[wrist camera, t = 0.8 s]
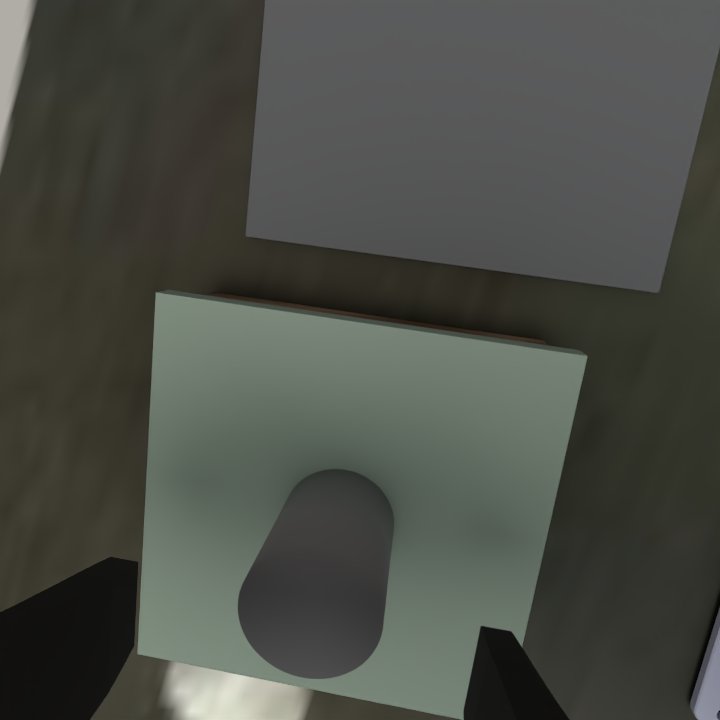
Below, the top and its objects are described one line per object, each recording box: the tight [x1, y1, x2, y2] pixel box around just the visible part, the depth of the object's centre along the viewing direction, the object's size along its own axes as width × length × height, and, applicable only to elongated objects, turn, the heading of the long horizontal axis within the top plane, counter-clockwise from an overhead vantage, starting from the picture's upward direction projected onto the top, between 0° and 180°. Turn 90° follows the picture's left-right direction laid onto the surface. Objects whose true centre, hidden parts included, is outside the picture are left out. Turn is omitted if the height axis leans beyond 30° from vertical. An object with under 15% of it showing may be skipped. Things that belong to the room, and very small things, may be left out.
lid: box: [138, 290, 588, 720], centre depth 15 cm, size 12×12×6 cm
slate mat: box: [246, 0, 720, 293], centre depth 17 cm, size 13×13×1 cm
